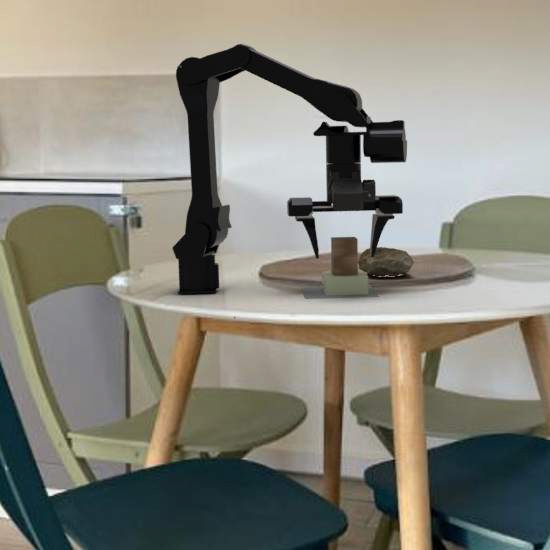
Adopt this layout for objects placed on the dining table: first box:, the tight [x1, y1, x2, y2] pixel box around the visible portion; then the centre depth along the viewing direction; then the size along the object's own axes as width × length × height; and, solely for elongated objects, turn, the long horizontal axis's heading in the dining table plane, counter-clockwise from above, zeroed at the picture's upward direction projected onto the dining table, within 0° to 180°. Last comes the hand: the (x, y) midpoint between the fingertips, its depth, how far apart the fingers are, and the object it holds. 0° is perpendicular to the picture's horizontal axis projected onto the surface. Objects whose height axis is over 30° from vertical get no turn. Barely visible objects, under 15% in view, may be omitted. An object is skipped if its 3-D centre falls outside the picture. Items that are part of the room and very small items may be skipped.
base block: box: [321, 270, 369, 295], centre depth 157 cm, size 7×7×3 cm
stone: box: [358, 246, 415, 277], centre depth 174 cm, size 13×8×8 cm
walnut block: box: [330, 236, 359, 276], centre depth 156 cm, size 4×4×6 cm
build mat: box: [300, 284, 380, 300], centre depth 157 cm, size 12×12×1 cm
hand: (344, 257), depth 156 cm, fingers open, 9 cm apart
